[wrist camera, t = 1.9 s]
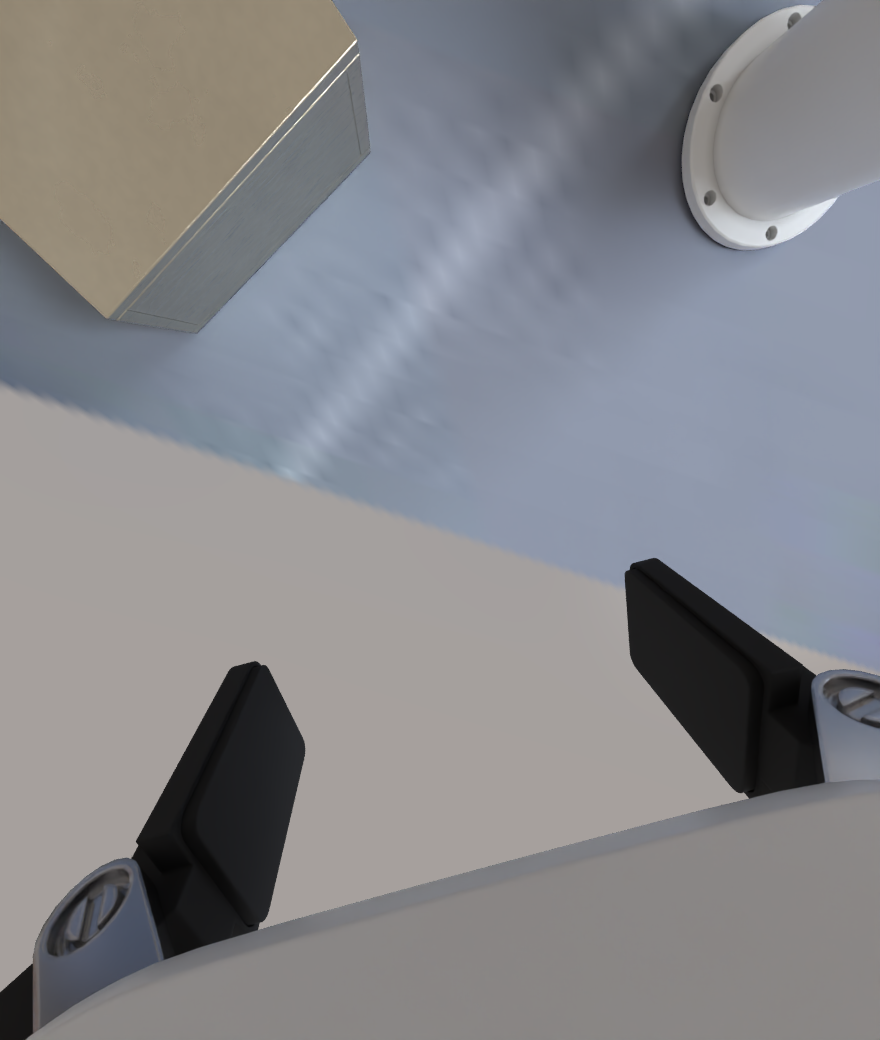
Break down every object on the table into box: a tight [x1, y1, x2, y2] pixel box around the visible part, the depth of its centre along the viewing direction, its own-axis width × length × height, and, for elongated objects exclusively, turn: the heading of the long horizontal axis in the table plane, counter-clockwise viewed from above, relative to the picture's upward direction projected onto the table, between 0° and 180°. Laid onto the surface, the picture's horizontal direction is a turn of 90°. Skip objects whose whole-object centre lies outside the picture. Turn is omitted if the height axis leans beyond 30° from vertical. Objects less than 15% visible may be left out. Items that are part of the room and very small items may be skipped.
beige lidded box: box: [0, 0, 370, 333], centre depth 20 cm, size 16×17×10 cm
